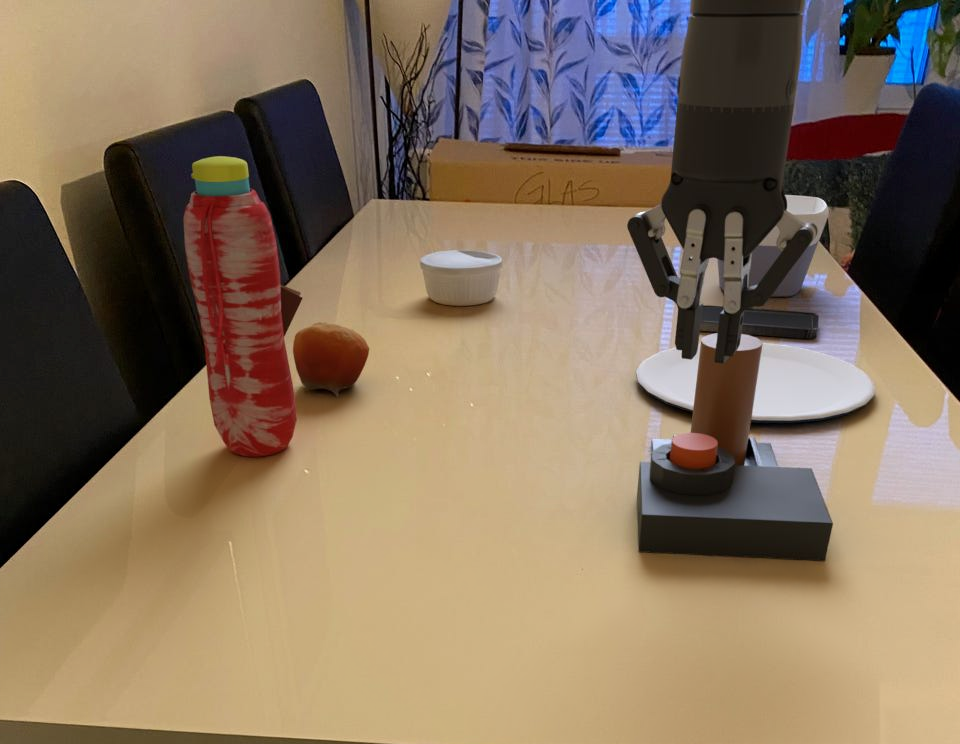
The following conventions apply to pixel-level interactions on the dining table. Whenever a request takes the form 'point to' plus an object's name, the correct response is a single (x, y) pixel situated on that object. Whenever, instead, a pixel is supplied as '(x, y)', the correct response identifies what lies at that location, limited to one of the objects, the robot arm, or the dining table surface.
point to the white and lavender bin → (769, 252)
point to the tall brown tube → (727, 394)
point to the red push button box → (730, 509)
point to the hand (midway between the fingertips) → (705, 357)
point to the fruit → (329, 356)
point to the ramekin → (461, 276)
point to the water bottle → (240, 308)
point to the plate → (769, 384)
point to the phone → (766, 322)
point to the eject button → (693, 450)
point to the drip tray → (754, 455)
